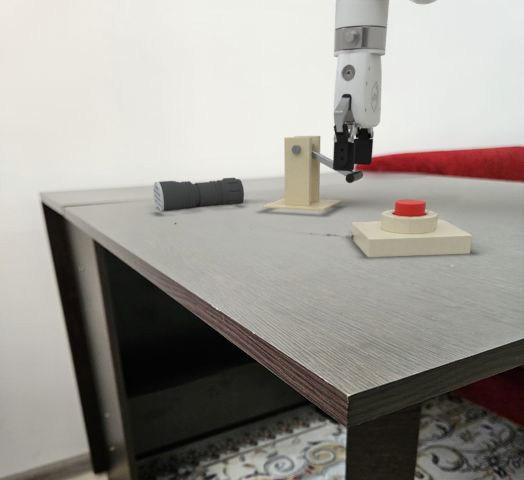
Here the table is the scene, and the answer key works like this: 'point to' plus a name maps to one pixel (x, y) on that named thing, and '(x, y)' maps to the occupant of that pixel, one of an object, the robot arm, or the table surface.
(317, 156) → the switch
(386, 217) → the beige button housing
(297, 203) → the switch bracket
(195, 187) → the flashlight
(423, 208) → the light button
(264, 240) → the table surface
